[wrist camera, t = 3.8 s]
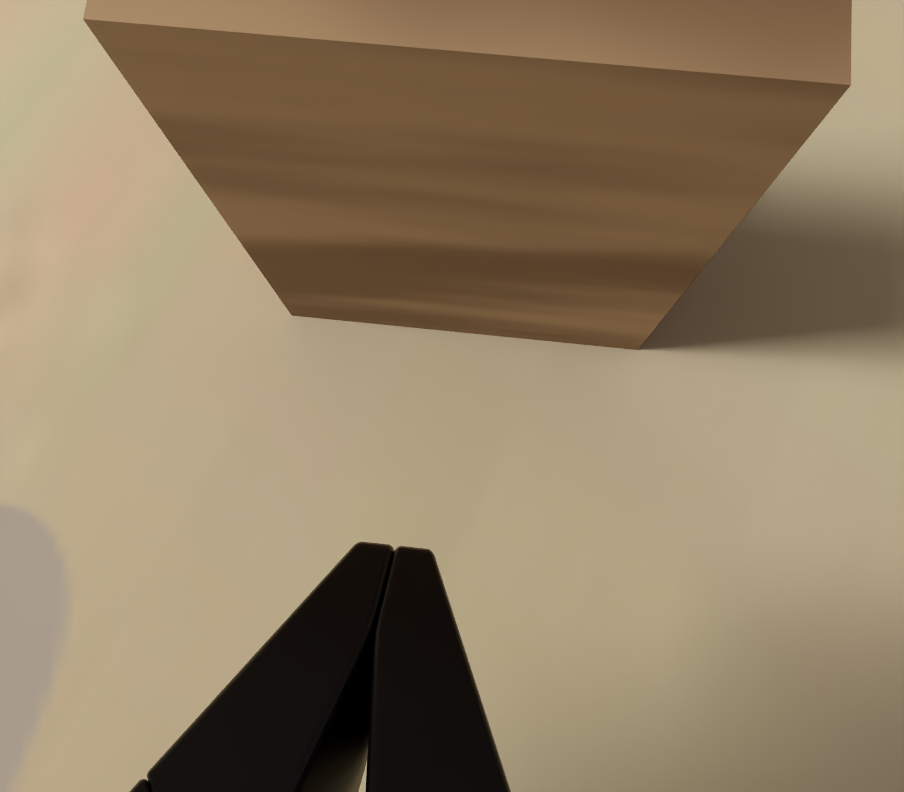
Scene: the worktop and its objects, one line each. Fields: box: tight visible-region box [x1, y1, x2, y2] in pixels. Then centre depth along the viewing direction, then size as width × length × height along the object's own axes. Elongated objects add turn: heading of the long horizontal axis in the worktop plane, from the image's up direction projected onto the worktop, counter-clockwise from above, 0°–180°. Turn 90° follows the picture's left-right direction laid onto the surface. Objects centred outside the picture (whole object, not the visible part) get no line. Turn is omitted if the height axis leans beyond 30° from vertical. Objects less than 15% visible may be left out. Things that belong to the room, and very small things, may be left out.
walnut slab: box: [83, 0, 852, 350], centre depth 17 cm, size 4×10×13 cm, turn 84°
